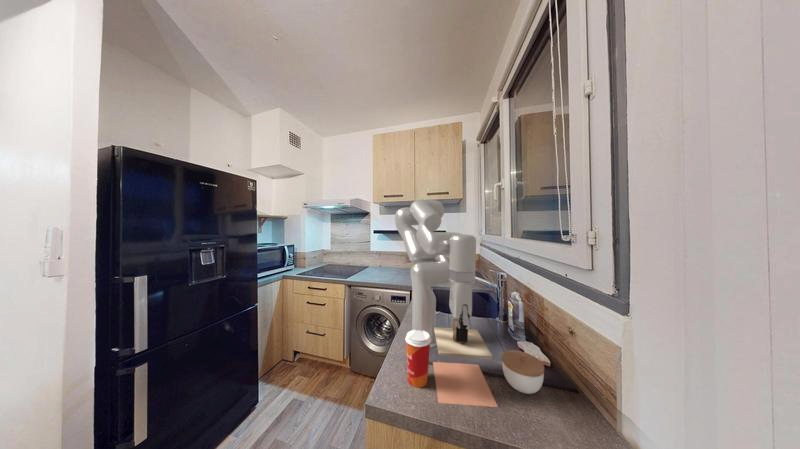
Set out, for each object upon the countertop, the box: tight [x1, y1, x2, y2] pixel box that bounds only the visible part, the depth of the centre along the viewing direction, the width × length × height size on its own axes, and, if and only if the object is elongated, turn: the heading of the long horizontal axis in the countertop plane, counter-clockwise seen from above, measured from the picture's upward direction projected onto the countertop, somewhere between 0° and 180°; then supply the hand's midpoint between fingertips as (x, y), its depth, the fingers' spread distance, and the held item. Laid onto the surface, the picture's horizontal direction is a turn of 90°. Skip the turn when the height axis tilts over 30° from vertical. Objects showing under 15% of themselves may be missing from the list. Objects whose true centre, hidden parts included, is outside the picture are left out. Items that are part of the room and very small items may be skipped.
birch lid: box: [434, 317, 493, 360], centre depth 65 cm, size 14×14×7 cm
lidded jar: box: [501, 349, 545, 395], centre depth 63 cm, size 11×11×9 cm
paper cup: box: [404, 329, 431, 388], centre depth 64 cm, size 8×8×14 cm
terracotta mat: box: [432, 361, 499, 408], centre depth 64 cm, size 17×15×1 cm
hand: (459, 336), depth 65 cm, fingers closed on birch lid, 4 cm apart
